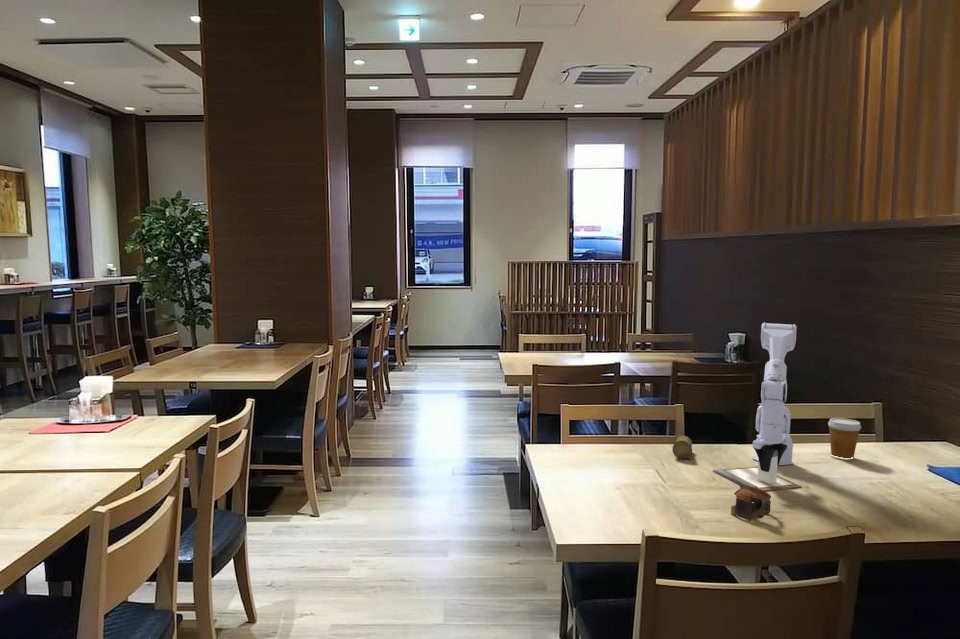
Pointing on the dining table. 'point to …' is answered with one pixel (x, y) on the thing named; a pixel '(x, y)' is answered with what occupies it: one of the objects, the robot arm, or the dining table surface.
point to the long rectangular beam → (772, 474)
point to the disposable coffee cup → (843, 436)
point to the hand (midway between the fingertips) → (769, 469)
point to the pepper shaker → (682, 447)
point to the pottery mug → (745, 505)
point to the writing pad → (754, 479)
